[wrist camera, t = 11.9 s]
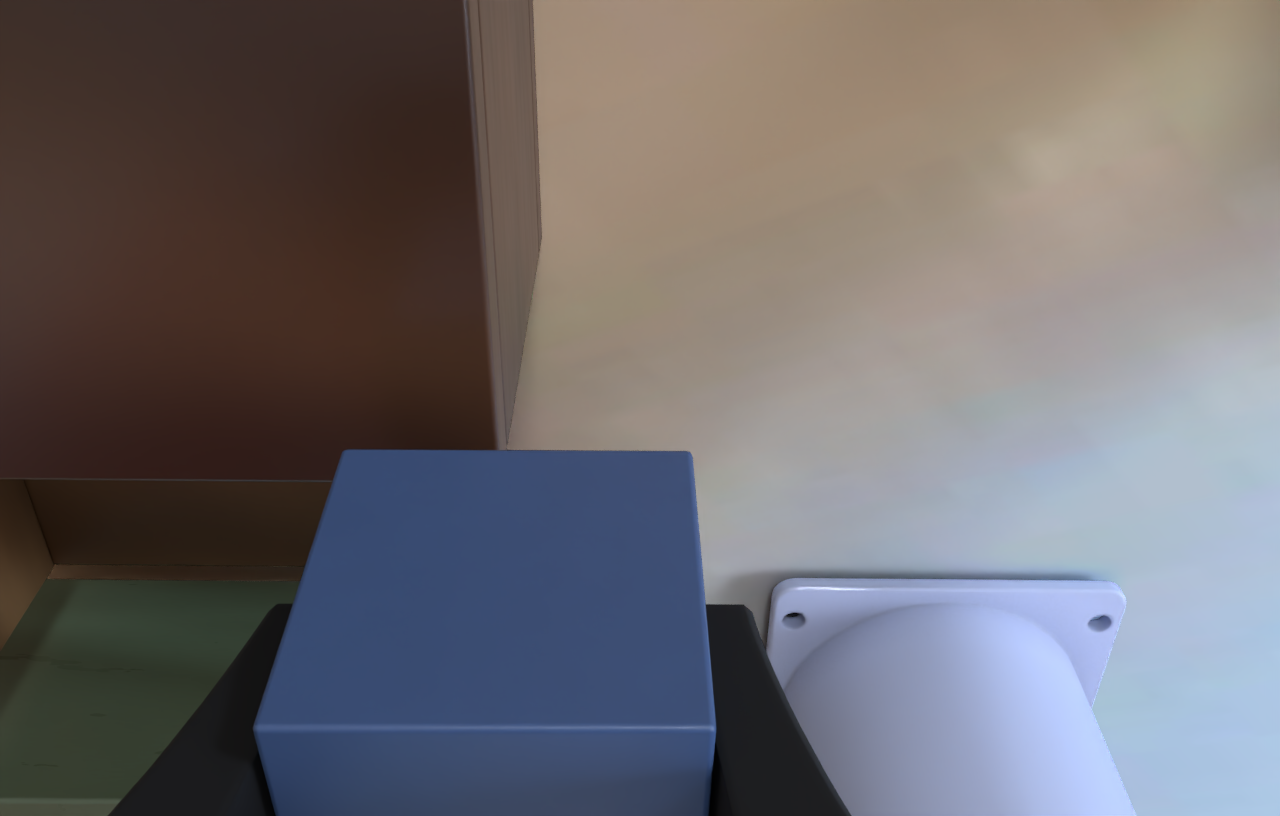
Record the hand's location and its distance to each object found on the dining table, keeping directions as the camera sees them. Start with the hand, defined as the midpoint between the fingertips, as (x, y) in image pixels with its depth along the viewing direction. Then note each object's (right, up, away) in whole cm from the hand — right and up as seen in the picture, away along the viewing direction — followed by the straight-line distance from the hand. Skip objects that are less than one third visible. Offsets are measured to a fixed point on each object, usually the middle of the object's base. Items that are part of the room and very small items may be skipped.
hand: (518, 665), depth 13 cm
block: (0, +1, +1) cm, 1 cm away
